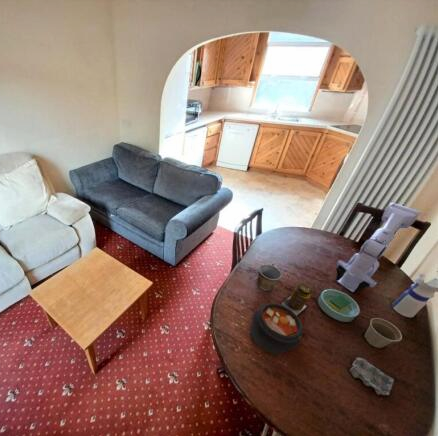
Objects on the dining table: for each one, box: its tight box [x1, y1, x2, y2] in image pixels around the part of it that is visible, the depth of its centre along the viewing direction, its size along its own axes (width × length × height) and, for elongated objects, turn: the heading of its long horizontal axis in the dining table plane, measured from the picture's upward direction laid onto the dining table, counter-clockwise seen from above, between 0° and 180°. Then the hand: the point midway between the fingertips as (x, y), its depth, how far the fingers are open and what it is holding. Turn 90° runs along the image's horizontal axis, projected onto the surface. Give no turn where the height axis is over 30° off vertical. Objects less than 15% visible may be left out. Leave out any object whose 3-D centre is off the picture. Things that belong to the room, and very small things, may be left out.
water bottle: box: [391, 270, 438, 318], centre depth 100 cm, size 8×9×25 cm
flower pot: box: [363, 317, 403, 349], centre depth 93 cm, size 9×9×9 cm
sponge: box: [328, 295, 351, 313], centre depth 106 cm, size 7×4×4 cm, turn 114°
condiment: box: [281, 283, 312, 316], centre depth 106 cm, size 7×8×12 cm
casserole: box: [249, 302, 304, 356], centre depth 97 cm, size 25×19×8 cm
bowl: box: [317, 288, 361, 323], centre depth 107 cm, size 14×14×4 cm
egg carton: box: [349, 357, 395, 396], centre depth 84 cm, size 11×8×4 cm
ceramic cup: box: [256, 263, 283, 291], centre depth 117 cm, size 13×10×10 cm
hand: (346, 285), depth 107 cm, fingers open, 7 cm apart
